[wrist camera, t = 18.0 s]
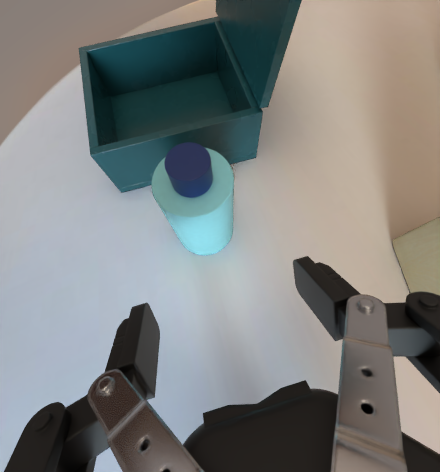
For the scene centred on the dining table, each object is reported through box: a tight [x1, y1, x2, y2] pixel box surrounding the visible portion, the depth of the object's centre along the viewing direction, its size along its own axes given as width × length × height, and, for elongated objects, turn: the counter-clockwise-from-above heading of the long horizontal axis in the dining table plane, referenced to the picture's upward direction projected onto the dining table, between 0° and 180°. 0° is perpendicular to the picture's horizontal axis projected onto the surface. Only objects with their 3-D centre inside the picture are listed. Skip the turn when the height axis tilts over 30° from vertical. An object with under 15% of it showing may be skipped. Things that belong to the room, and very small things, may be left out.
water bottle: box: [152, 142, 234, 255], centre depth 19 cm, size 6×6×11 cm
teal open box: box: [79, 17, 263, 193], centre depth 27 cm, size 16×15×6 cm
